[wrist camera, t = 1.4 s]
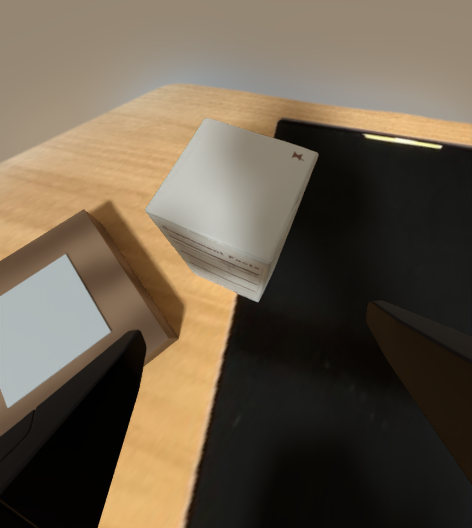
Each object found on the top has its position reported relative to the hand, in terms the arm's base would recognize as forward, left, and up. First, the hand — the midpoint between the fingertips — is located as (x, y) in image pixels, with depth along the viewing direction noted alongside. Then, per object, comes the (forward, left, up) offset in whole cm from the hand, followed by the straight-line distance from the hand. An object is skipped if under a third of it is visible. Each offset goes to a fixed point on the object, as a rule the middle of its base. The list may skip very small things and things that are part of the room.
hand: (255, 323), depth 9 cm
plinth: (+17, +5, -13) cm, 22 cm away
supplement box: (+3, -7, -13) cm, 15 cm away
